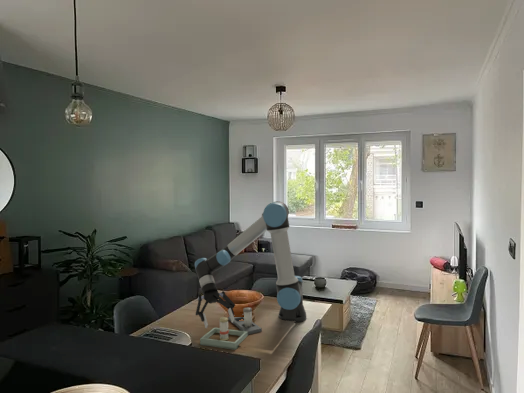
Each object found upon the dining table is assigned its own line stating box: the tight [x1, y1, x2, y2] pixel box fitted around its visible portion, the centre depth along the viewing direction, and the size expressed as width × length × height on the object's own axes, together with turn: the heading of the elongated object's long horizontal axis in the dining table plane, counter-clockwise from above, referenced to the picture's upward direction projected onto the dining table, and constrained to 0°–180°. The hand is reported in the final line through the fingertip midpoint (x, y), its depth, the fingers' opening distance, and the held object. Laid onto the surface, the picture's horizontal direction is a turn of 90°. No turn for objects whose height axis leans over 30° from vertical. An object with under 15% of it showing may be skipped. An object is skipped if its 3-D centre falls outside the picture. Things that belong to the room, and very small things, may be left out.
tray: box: [199, 327, 249, 351], centre depth 184 cm, size 18×14×3 cm
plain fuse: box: [242, 306, 253, 328], centre depth 196 cm, size 4×4×10 cm
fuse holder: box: [227, 316, 263, 335], centre depth 201 cm, size 24×8×2 cm, turn 27°
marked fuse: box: [219, 316, 230, 341], centre depth 184 cm, size 4×4×10 cm
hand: (220, 324), depth 187 cm, fingers open, 13 cm apart
